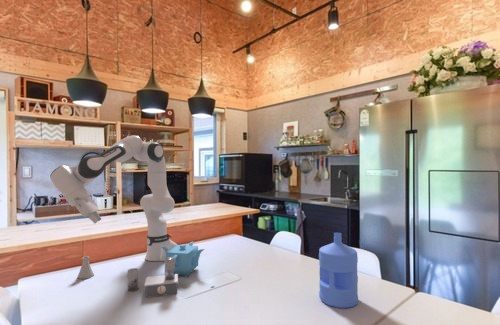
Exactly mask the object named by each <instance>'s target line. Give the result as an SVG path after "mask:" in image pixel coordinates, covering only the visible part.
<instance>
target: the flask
mask: <svg viewBox="0 0 500 325" xmlns="http://www.w3.org/2000/svg"><path fill="white" fill-rule="evenodd" d="M81 259H82V263H81V268H80V269H79V271H78V275H77V279H79V280H86V279H90V278H92V277H93V276H95V274H94V271H93V270H92V267H91V264H90V260H89V259H90V256H88V255H87V256H83V257H81Z"/></svg>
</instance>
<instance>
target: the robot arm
mask: <svg viewBox="0 0 500 325" xmlns="http://www.w3.org/2000/svg"><path fill="white" fill-rule="evenodd" d="M164 155H165V151H164V148H163V146H162V144H160V143H159V142H143V140H142V138H141V137H139V136H138V135H135V134H134V135H133V134H132V135H129V136H126V137H124V138H122V139H119V140H118V141H116V142H115V143H113V144H112V145H111V146H110V147H109V148H108V149H107V150H105V151H102V152H101V153H98V154H95V155H88V156H85V157H83V158H82V159H81V160H80V162H79V163H78V165H65V164H62V165H59V166H58V167H57V168H55V169H54V170H53V171H52V172H51V173H50V177H49V178H50V181H51V183H52V184H53V185H54V187H55V188H56V189H57V190H58V191H59V192H60V193H61V194H62V195H63V197H64V200H66V201H67V203H68V204H69V205H70V206H71V207H75V208H76V210H77V211H78V212H79V213H80V215H81V216H82V217H83V218H86V217H87V218H88V219H89V220H90V221H92V223H93V224H97V223H99V222H100V221H102V217H101V216H100V214H99V213H98V211H99V208H98V206H97V205H96V203H95V201H94V200H93V199H92V198H91V193H90V192H89V191H88V190H87V188H86V187H85V186H88V185H90V184H91V183H93V182H94V181H95V180H96V179H97V178H98V177H99V176H100V175H102V173H103V172H104V170H105V169H106V167H107V166H109V165H111V164H112V163H113V162H116V163H121V164H122V163H123V162H126V161H128V160H130V159H132V160H133V161H136V162H146V163H147V187H149V188H150V191H151V193H150V194H144V195H143V196H142V197H141V198H140V200H139V204H140V208H141V209H142V210H143V211H144V214H145V217H146V222H147V236H146V243H147V249H146V255H145V260H146V261H148V262H165V258H166V252H165V250H164V249H163V248H161V247H166V248H168V250H171V249H172V248H174V247H176V246H177V245H178V244H177V243H176V242H175V241H173V240H172V239H170V238H172V237H173V234H171V233H168V232H167V228H168V227H167V223H168V222H167V220H166V218H165V217H164V215H163V214H166V213H167V214H168V213H170V212H172V211H173V210H174V208H175V203H176V202H175V200H174V198H173V197H172V196H171V194H170V191H169V189H168V186H167V164H166V159H165V156H164Z"/></svg>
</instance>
